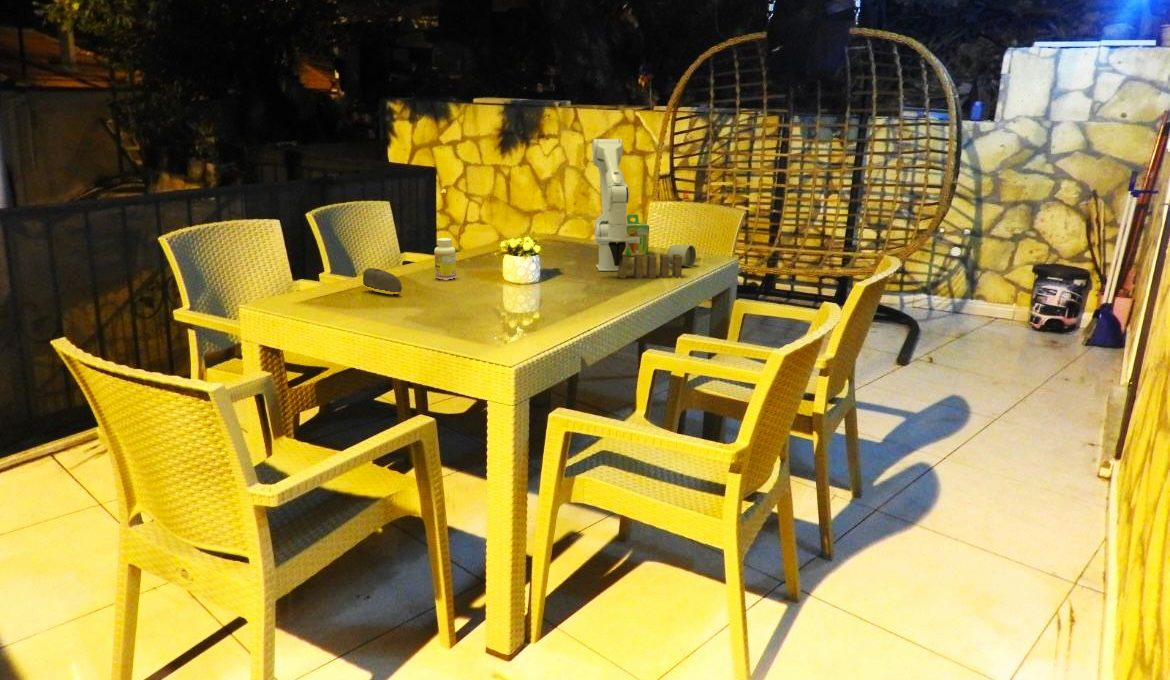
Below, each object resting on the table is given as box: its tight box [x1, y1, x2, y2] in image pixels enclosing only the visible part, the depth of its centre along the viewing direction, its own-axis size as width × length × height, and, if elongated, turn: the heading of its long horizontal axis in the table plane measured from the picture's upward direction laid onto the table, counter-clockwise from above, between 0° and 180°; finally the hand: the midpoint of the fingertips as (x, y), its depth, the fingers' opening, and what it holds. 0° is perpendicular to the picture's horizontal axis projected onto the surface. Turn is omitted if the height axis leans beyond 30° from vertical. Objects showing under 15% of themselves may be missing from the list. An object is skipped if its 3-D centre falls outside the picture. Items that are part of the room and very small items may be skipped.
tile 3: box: [646, 253, 657, 279], centre depth 278 cm, size 5×2×7 cm, turn 7°
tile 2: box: [633, 255, 644, 278], centre depth 277 cm, size 5×2×7 cm, turn 7°
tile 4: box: [659, 253, 670, 279], centre depth 278 cm, size 5×2×7 cm, turn 7°
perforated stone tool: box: [362, 267, 403, 293], centre depth 251 cm, size 15×5×7 cm, turn 51°
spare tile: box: [617, 254, 630, 279], centre depth 277 cm, size 5×2×7 cm, turn 7°
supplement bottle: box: [433, 237, 457, 280], centre depth 272 cm, size 7×7×13 cm
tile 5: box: [671, 254, 683, 279], centre depth 279 cm, size 5×2×7 cm, turn 7°
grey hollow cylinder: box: [666, 244, 697, 269], centre depth 296 cm, size 11×8×8 cm
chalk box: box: [623, 214, 650, 258], centre depth 317 cm, size 9×9×15 cm
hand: (616, 265), depth 276 cm, fingers closed
